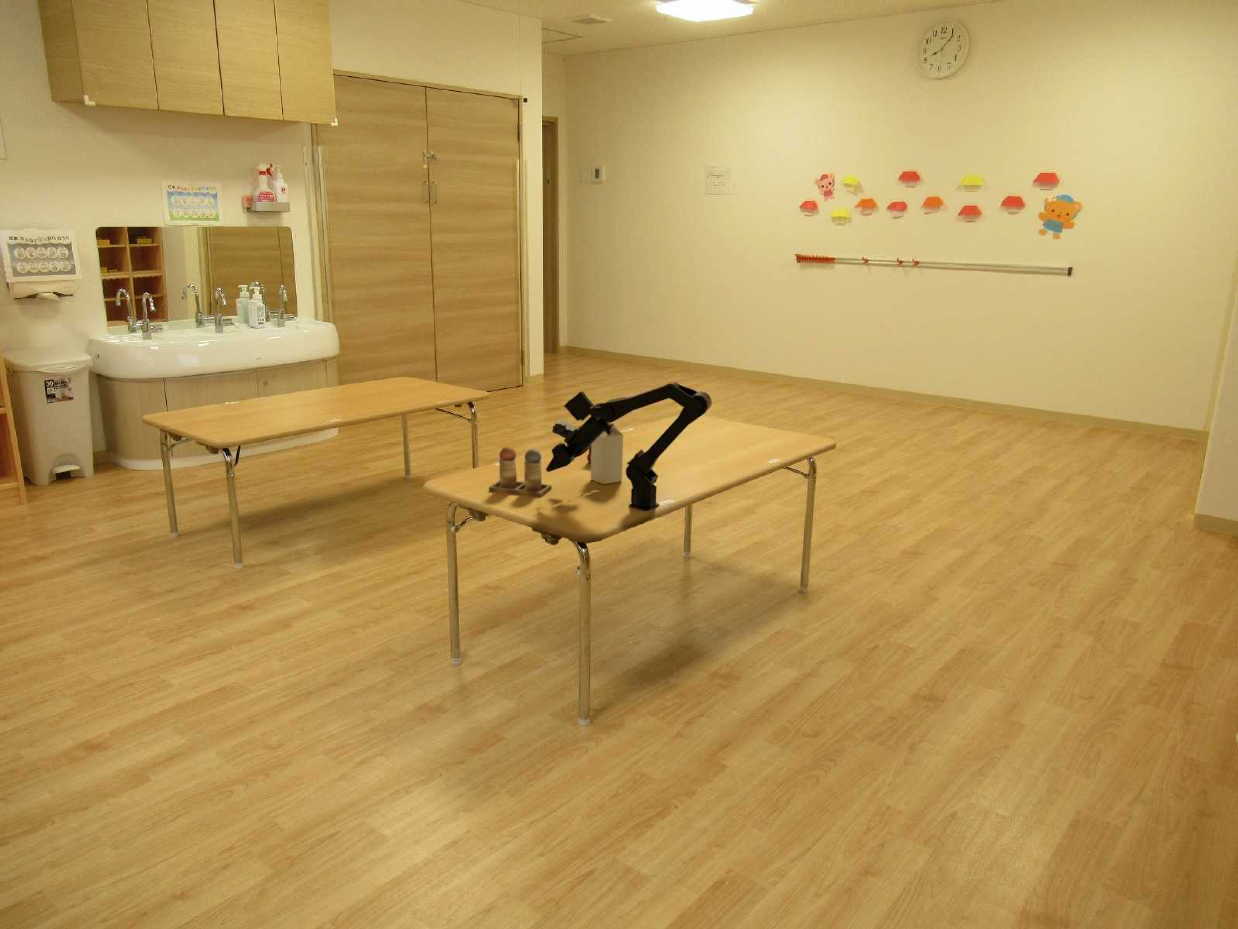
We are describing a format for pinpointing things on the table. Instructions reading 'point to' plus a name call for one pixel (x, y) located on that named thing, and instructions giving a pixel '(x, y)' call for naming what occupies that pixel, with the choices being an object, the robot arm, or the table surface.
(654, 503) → the robot arm
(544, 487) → the doll tray
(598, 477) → the milk carton
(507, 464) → the red peg doll
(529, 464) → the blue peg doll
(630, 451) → the table surface
